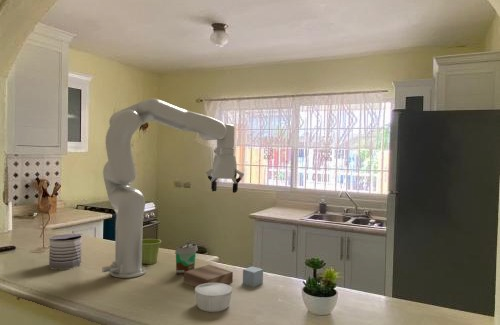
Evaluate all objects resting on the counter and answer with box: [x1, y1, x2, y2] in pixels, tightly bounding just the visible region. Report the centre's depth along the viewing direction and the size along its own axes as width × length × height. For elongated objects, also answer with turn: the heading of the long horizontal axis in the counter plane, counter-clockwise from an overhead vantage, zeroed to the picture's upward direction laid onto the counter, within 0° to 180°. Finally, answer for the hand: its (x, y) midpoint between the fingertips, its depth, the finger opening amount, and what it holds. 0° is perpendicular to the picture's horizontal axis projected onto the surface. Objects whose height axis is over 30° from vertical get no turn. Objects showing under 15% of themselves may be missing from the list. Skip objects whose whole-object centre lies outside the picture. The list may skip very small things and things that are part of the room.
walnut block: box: [183, 264, 234, 288], centre depth 131 cm, size 12×12×4 cm
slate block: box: [242, 266, 264, 288], centre depth 131 cm, size 5×5×5 cm
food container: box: [174, 241, 199, 275], centre depth 143 cm, size 12×6×10 cm, turn 168°
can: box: [48, 232, 83, 271], centre depth 146 cm, size 11×11×12 cm
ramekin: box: [194, 283, 233, 313], centre depth 111 cm, size 11×11×5 cm
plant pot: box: [142, 238, 162, 265], centre depth 153 cm, size 9×9×9 cm
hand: (224, 191), depth 163 cm, fingers open, 9 cm apart
